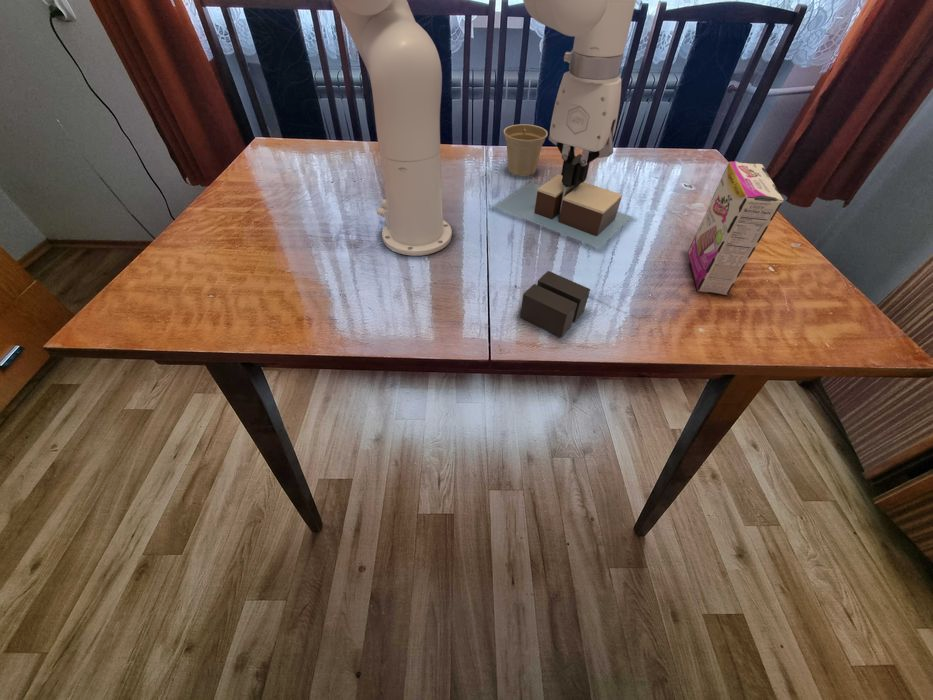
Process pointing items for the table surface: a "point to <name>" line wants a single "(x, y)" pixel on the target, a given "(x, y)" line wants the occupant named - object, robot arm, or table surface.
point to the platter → (525, 207)
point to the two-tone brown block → (550, 198)
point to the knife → (570, 176)
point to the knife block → (554, 303)
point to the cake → (589, 208)
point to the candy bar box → (732, 226)
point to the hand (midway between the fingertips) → (572, 181)
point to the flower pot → (524, 147)
